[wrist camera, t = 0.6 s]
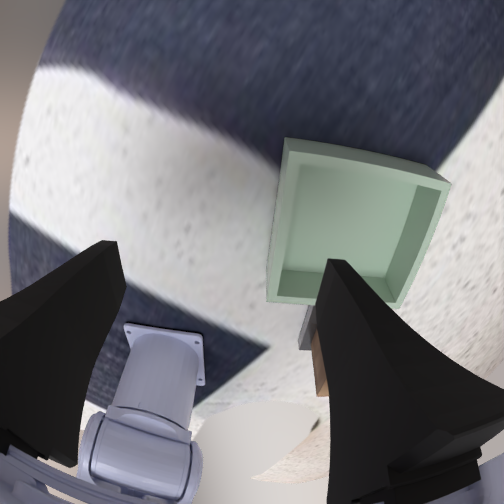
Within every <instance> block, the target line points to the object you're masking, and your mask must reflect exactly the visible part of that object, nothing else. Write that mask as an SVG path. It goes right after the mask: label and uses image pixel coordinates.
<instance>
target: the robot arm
mask: <svg viewBox="0 0 504 504" xmlns="http://www.w3.org/2000/svg"><path fill="white" fill-rule="evenodd" d="M126 287H127V286H126V282H125V278H124V274H123V269H122V265H121V260H120V255H119V250H118V245H117V241H105V240H102V241H100V242H98V243H96V244H94V245H92V246H91V247H89V248H87V249H86V250H84V251H83V252H81V253H79V254H78V255H76V256H75V257H73V258H72V259H70V260H69V261H67V262H66V263H64V264H63V265H61V266H60V267H58V268H57V269H55V270H54V271H52V272H50V273H49V274H47V275H46V276H44V277H43V278H41V279H39V280H38V281H36V282H35V283H33V284H32V285H30V286H28V287H27V288H25V289H23V290H21V291H20V292H18V293H16V294H14V295H12V296H11V297H9V298H7V299H5V300H3V301H0V504H73V503H71V502H69V501H66V500H63V499H61V498H59V497H57V496H54V495H52V494H50V493H49V492H48V490H47V487H46V485H48V486H50V487H52V488H54V489H56V490H58V491H60V492H63V493H65V494H67V495H69V496H71V497H74V498H76V499H78V500H81V501H83V502H86V503H88V504H192V500H193V497H194V496H195V494H196V492H197V490H198V487H199V484H200V480H201V474H202V468H203V455H202V451H201V449H200V448H199V446H198V444H197V443H196V442H195V441H191V435H192V432H191V431H188V428H189V424H190V419H191V413H192V407H193V401H194V395H195V389H196V385H199V386H204V385H205V369H204V353H203V337H202V335H200V334H198V333H190V332H182V331H175V330H168V329H161V328H155V327H148V326H142V325H136V324H131V323H125V325H124V330H125V333H126V336H127V339H128V342H129V345H130V348H131V351H130V354H129V357H128V359H127V362H126V365H125V368H124V371H123V373H122V376H121V379H120V382H119V385H118V388H117V391H116V394H115V397H114V400H113V403H112V406H111V405H108V408H107V412H106V414H105V413H103V412H101V411H99V412H97V413H96V414H93V415H92V416H91V417H90V419H89V421H88V423H87V425H86V428H85V430H84V434H83V437H82V440H81V444H80V449H79V456H78V443H79V432H80V425H81V418H82V411H83V407H84V402H85V397H86V393H87V388H88V385H89V381H90V377H91V374H92V370H93V367H94V365H95V362H96V359H97V357H98V355H99V352H100V350H101V348H102V346H103V344H104V341H105V339H106V337H107V335H108V333H109V331H110V328H111V326H112V324H113V322H114V320H115V318H116V316H117V313H118V311H119V308H120V306H121V303H122V300H123V297H124V293H125V290H126ZM315 308H316V322H317V331H318V337H319V342H320V347H321V352H322V357H323V362H324V368H325V373H326V378H327V384H328V391H329V404H330V439H331V443H330V470H329V484H328V493H327V504H504V453H502V454H501V455H499V456H497V457H495V458H493V459H491V460H489V461H487V462H485V463H484V464H482V465H480V466H478V463H477V459H479V458H480V457H481V456H482V452H481V449H480V446H482V445H483V444H485V443H486V442H487V441H489V440H490V439H492V438H493V437H494V436H496V435H497V434H498V433H500V432H501V431H502V430H503V429H504V389H502V388H500V387H498V386H496V385H494V384H492V383H490V382H488V381H486V380H484V379H482V378H480V377H478V376H477V375H475V374H473V373H472V372H470V371H468V370H467V369H465V368H464V367H462V366H460V365H459V364H457V363H456V362H454V361H453V360H451V359H450V358H449V357H447V356H446V355H444V354H443V353H442V352H440V351H439V350H438V349H436V348H435V347H434V346H432V345H431V344H430V343H429V342H427V341H426V340H425V339H424V338H423V337H421V336H420V335H419V334H418V333H417V332H416V331H414V330H413V329H412V328H411V327H410V326H409V325H408V324H406V323H405V322H404V321H403V320H402V319H401V318H400V317H399V316H398V315H397V314H396V313H395V312H394V311H393V310H392V309H391V308H390V307H389V306H388V305H387V304H386V303H385V302H384V301H383V300H382V299H381V298H380V297H379V296H378V294H377V293H376V292H375V291H374V290H373V289H372V288H371V287H370V286H369V285H368V284H367V283H366V281H365V280H364V279H363V278H362V277H361V276H360V275H359V274H358V273H357V272H356V270H355V269H354V268H353V267H352V266H351V265H350V264H349V263H348V262H347V261H346V260H343V259H331V258H328V259H327V263H326V266H325V270H324V274H323V278H322V281H321V285H320V289H319V292H318V296H317V299H316V303H315ZM38 456H39V457H41V458H43V459H45V460H48V459H51V460H53V461H55V462H57V463H60V464H62V465H64V466H66V467H69V468H71V467H74V466H76V465H77V464H79V465H78V472H77V477H73V476H71V475H69V474H67V473H64V472H62V471H60V470H57V469H55V468H53V467H51V466H49V465H47V464H45V463H43V462H41V461H39V460H37V457H38ZM45 484H46V485H45Z"/></svg>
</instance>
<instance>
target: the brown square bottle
mask: <svg viewBox="0 0 504 504" xmlns="http://www.w3.org/2000/svg"><path fill="white" fill-rule="evenodd" d="M311 350H312V359H313V367H314V376H315V385H316V394H317V397H324V396H329V391H328V384H327V378H326V373H325V368H324V362H323V357H322V352H321V347H320V342H319V337H318V331H317V329H316V331H315V334H314V337H313V340H312V342H311Z"/></svg>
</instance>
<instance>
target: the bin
mask: <svg viewBox="0 0 504 504" xmlns="http://www.w3.org/2000/svg"><path fill="white" fill-rule="evenodd" d="M450 187H451V183H450V182H449V181H447V180H446V179H445V178H443V177H442V176H441V175H439V174H438V173H437V172H435V171H434V170H432V169H431V168H430V167H428V166H427V165H425V164H421V163H417V162H413V161H410V160H406V159H402V158H398V157H394V156H389V155H385V154H381V153H376V152H371V151H367V150H362V149H357V148H352V147H346V146H341V145H335V144H329V143H323V142H317V141H310V140H304V139H296V138H289V137H285V138H284V146H283V153H282V161H281V169H280V176H279V184H278V191H277V199H276V206H275V213H274V220H273V227H272V234H271V241H270V248H269V255H268V262H267V269H266V302H275V303H288V304H302V305H315V303H316V299H317V296H318V292H319V289H320V285H321V281H322V278H323V274H324V270H325V266H326V263H327V259H328V258H331V259H343V260H346V261H347V262H348V263H349V264H350V265H351V266H352V267H353V268H354V269H355V270H356V272H357V273H358V274H359V275H360V276H361V277H362V278H363V279H364V280H365V281H366V283H367V284H368V285H369V286H370V287H371V288H372V289H373V290H374V291H375V292H376V293H377V294H378V296H379V297H380V298H381V299H382V300H383V301H384V302H385V303H386V304H387V305H388V306H389V307H390V308H391V309H399V308H400V306H401V305H402V303H403V301H404V299H405V297H406V295H407V293H408V291H409V289H410V287H411V285H412V282H413V280H414V278H415V276H416V274H417V272H418V270H419V267H420V265H421V263H422V261H423V259H424V256H425V254H426V252H427V249H428V247H429V244H430V242H431V240H432V237H433V235H434V232H435V229H436V227H437V224H438V222H439V219H440V216H441V214H442V211H443V208H444V205H445V202H446V199H447V196H448V193H449V190H450Z"/></svg>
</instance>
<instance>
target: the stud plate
mask: <svg viewBox="0 0 504 504" xmlns="http://www.w3.org/2000/svg"><path fill="white" fill-rule="evenodd" d="M316 329H317V322H316V308H315V305H309V307H308V310H307V313H306V317H305V320H304V323H303V326H302V330H301V333H300V336H299V339H298V344H299V350H311V342H312V340H313V337H314V334H315V331H316Z"/></svg>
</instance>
